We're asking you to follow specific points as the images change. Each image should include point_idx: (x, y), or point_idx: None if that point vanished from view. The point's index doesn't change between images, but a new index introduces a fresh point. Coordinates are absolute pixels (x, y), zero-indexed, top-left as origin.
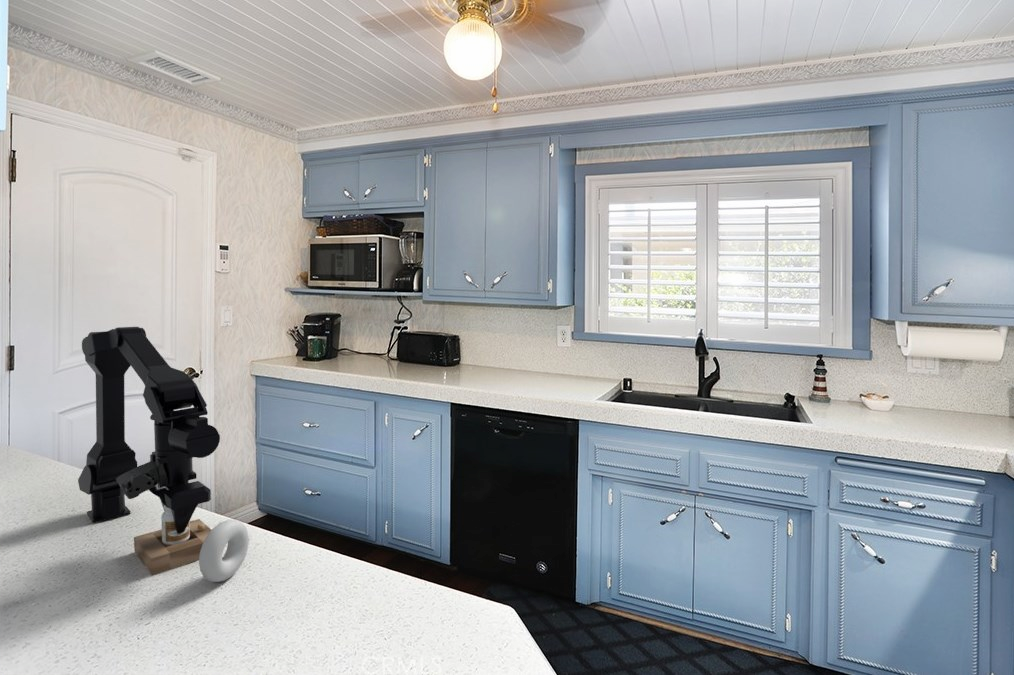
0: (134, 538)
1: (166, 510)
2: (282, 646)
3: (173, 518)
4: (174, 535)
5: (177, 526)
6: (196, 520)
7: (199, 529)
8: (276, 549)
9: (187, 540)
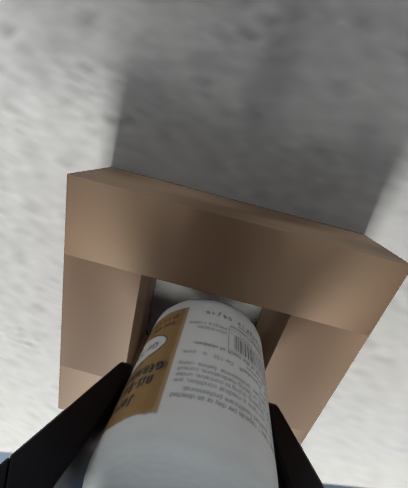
0: (397, 260)
1: None
2: None
3: (61, 461)
4: (145, 346)
5: (81, 399)
6: None
7: None
8: (3, 418)
9: None
